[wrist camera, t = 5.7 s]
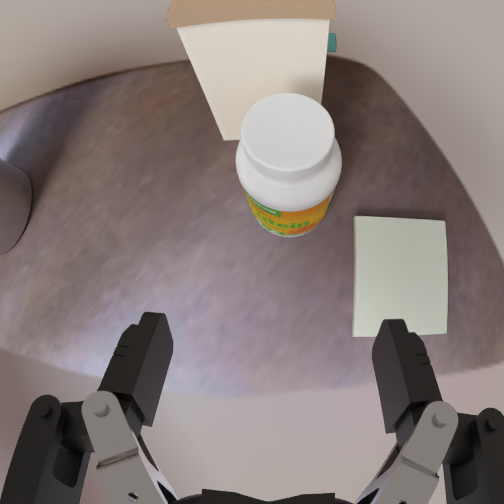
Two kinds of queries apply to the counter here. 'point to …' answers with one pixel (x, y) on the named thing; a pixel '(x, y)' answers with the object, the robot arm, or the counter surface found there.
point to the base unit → (254, 51)
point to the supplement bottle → (288, 162)
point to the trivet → (400, 274)
